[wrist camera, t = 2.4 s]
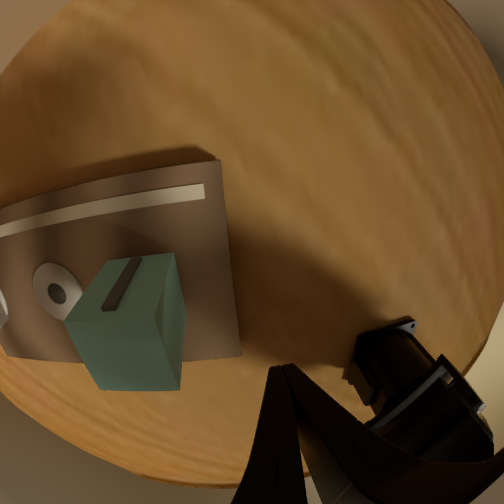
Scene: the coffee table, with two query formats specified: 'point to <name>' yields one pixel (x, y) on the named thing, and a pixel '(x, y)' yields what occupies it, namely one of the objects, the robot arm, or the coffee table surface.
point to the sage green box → (132, 325)
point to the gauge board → (117, 256)
